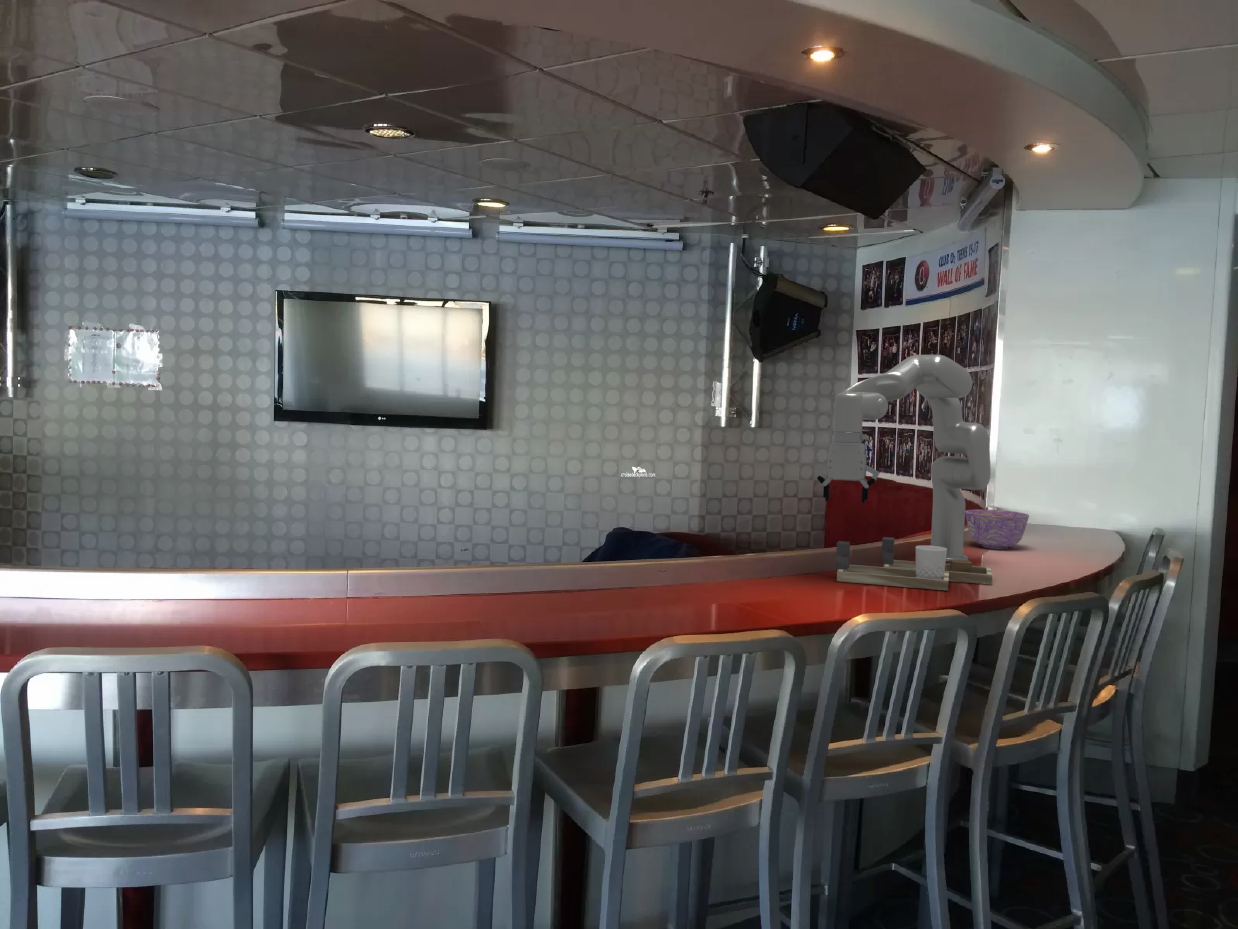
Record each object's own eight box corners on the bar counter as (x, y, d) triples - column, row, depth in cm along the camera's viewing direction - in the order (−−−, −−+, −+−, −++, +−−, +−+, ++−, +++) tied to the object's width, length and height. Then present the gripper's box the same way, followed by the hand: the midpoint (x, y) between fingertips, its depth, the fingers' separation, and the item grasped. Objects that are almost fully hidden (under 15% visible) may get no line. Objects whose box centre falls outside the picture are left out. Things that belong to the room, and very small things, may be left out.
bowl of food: (954, 546, 325) (955, 512, 324) (976, 540, 340) (978, 508, 340) (1015, 554, 312) (1017, 518, 311) (1035, 547, 327) (1037, 513, 327)
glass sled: (839, 572, 271) (840, 538, 271) (948, 581, 262) (950, 546, 261) (833, 580, 259) (834, 545, 258) (947, 590, 249) (949, 553, 249)
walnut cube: (948, 576, 271) (949, 559, 270) (967, 577, 270) (968, 560, 270) (951, 580, 266) (952, 562, 265) (971, 581, 265) (971, 563, 265)
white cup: (941, 583, 261) (943, 546, 260) (948, 589, 253) (950, 550, 252) (911, 581, 262) (913, 544, 261) (916, 587, 254) (918, 549, 253)
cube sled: (883, 567, 281) (884, 535, 280) (990, 576, 271) (992, 542, 271) (879, 575, 269) (881, 541, 268) (991, 584, 259) (993, 549, 258)
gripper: (881, 438, 264) (879, 501, 265) (817, 436, 270) (815, 498, 271) (879, 440, 257) (877, 504, 258) (813, 438, 262) (811, 501, 264)
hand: (845, 501), depth 265 cm, fingers open, 9 cm apart
